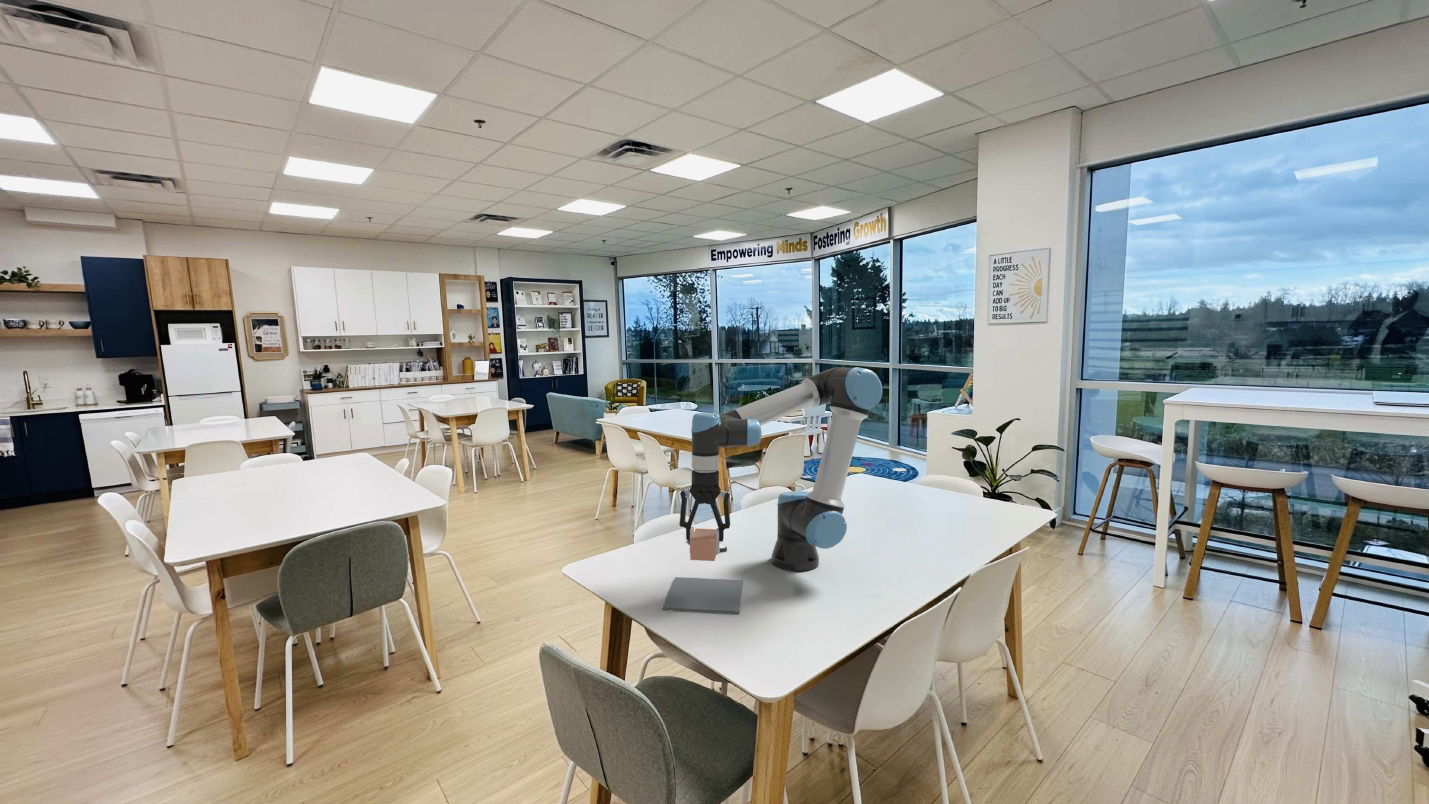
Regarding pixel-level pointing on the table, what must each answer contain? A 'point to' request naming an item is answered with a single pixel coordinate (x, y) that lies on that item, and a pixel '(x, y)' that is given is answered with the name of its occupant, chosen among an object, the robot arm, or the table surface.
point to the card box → (703, 545)
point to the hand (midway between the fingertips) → (704, 551)
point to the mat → (704, 595)
